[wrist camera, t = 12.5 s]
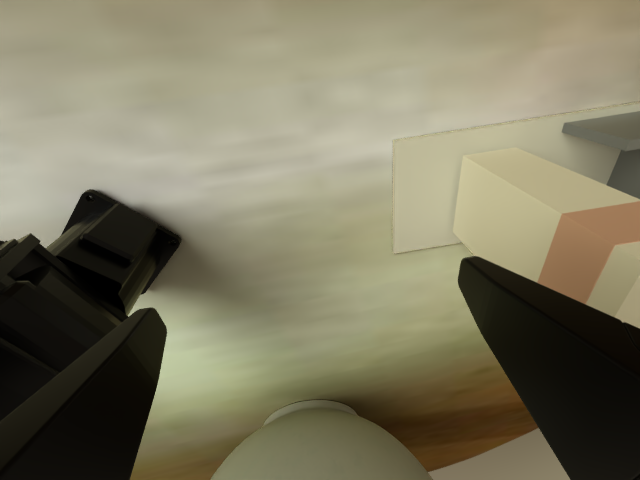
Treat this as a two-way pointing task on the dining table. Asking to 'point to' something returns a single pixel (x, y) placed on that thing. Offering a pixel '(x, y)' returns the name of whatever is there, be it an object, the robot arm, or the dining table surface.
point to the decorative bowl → (320, 448)
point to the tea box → (552, 228)
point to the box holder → (529, 135)
